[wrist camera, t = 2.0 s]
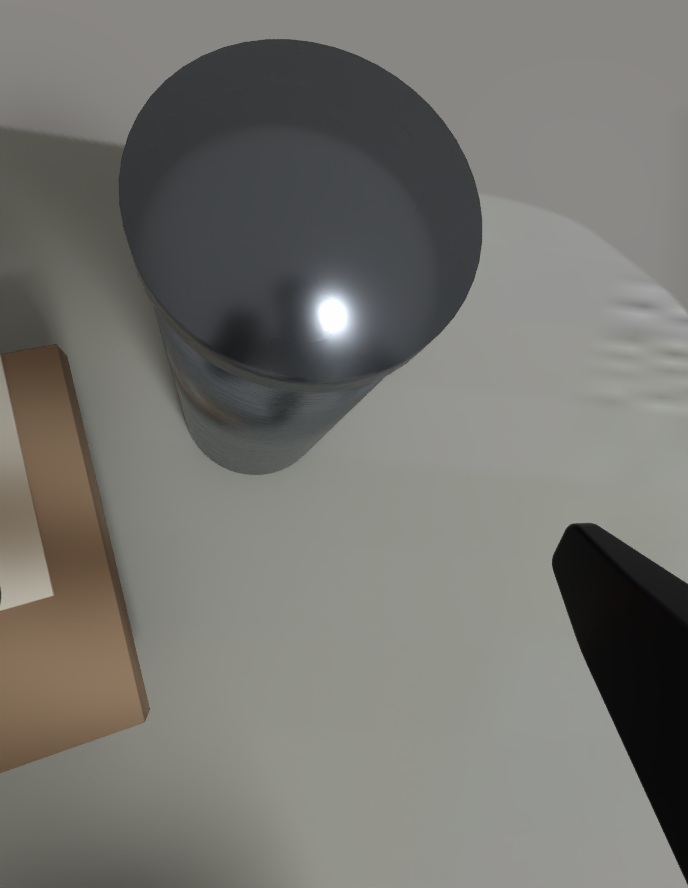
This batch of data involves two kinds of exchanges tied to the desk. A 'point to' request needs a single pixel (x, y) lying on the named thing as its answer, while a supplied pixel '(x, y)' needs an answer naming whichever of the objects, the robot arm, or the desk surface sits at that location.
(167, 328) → the canister
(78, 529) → the frame
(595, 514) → the desk surface
